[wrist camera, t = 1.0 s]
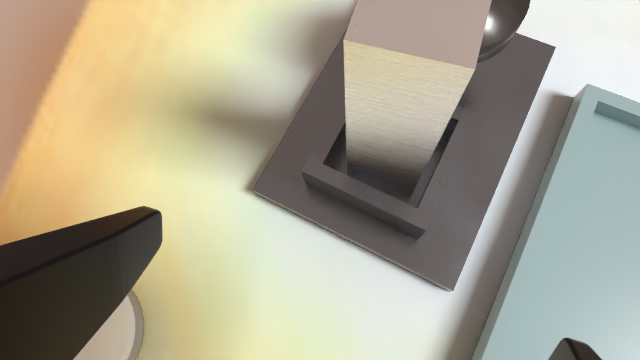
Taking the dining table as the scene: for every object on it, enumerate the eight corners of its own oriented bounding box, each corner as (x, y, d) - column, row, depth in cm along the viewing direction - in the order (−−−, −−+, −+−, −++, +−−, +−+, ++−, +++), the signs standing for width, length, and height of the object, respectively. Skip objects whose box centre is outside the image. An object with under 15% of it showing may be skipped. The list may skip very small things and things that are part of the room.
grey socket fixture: (449, 291, 22) (491, 281, 15) (255, 193, 24) (220, 149, 18) (549, 54, 26) (616, -33, 19) (373, -9, 28) (380, -106, 22)
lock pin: (410, 197, 23) (475, 69, 11) (347, 179, 23) (343, 39, 11) (425, 139, 24) (500, -37, 12) (364, 123, 24) (378, -59, 12)
